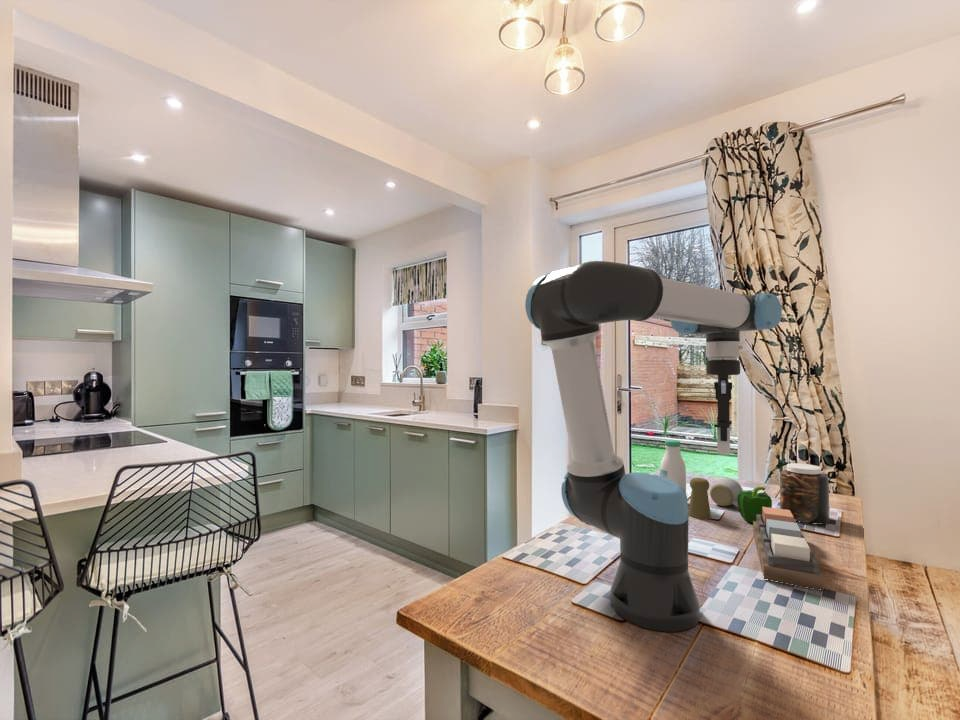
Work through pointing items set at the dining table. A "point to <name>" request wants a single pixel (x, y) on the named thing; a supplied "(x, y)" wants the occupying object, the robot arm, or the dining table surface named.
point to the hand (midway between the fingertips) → (723, 451)
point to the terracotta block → (776, 514)
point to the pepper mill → (699, 499)
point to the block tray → (785, 562)
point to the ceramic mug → (726, 492)
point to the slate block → (782, 528)
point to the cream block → (790, 547)
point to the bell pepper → (753, 503)
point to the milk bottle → (673, 464)
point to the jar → (805, 493)
